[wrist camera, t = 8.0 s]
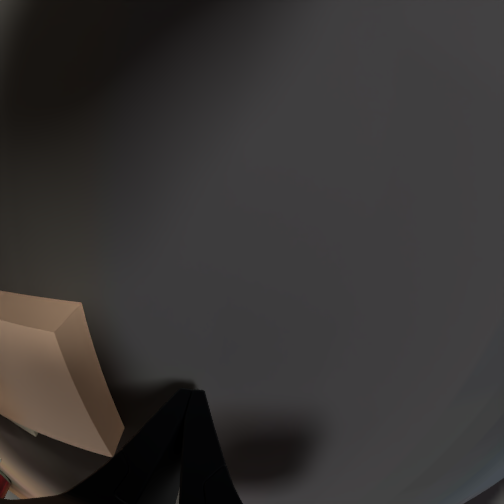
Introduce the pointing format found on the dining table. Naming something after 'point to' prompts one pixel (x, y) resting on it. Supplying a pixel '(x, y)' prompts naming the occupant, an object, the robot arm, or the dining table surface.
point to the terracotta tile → (54, 374)
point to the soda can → (4, 485)
